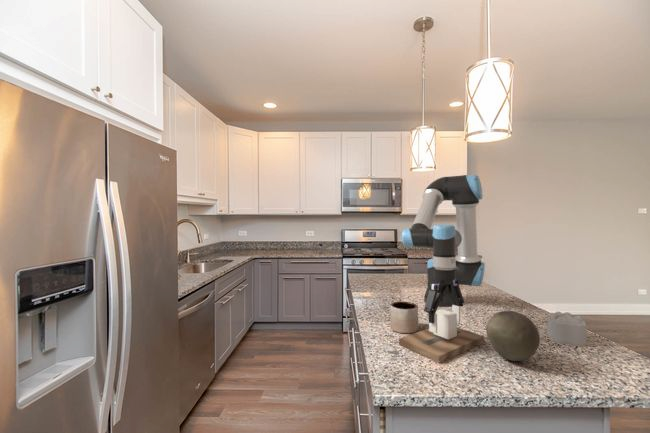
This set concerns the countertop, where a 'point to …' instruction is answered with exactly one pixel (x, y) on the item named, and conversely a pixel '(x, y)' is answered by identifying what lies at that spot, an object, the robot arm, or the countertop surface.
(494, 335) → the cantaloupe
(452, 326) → the fader cap
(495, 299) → the countertop surface
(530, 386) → the countertop surface
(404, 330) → the planter
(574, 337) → the lumpy-topped squat cylinder
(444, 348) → the fader board
